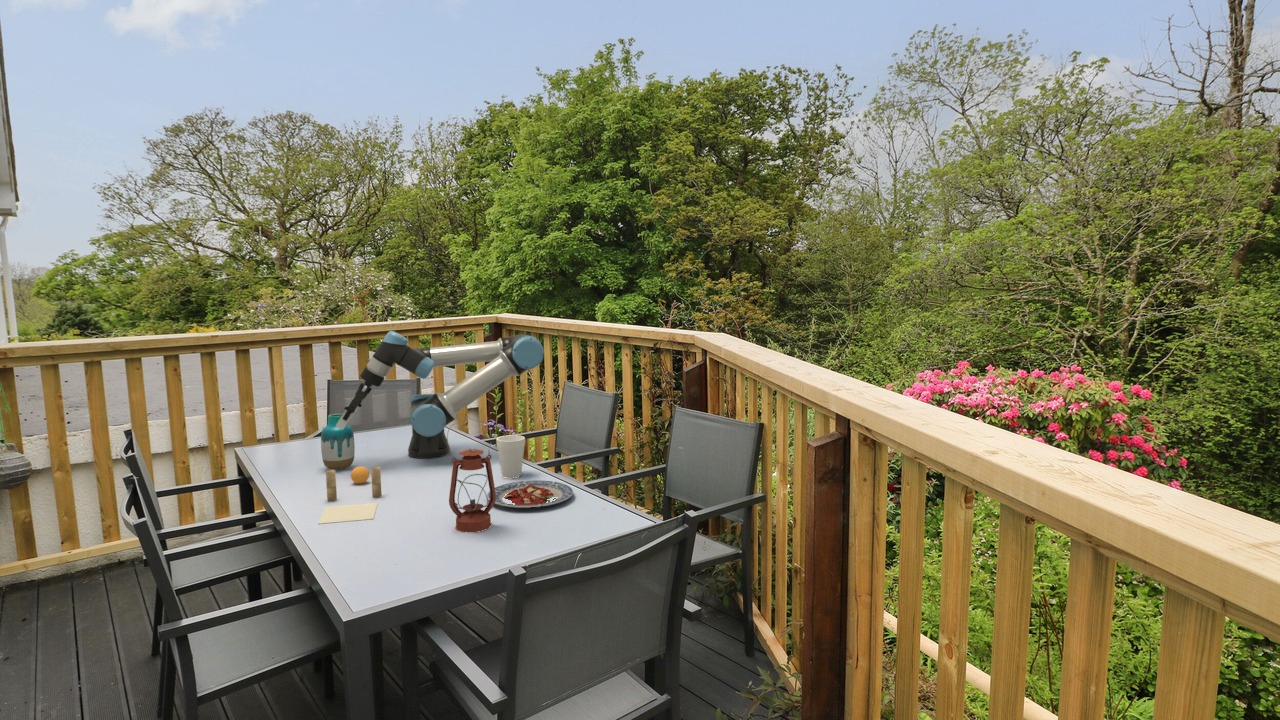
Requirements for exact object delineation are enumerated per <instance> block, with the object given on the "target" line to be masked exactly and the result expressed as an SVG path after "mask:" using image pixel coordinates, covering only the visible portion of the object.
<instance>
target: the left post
mask: <svg viewBox="0 0 1280 720" xmlns="http://www.w3.org/2000/svg"><path fill="white" fill-rule="evenodd" d="M336 473H337V472H336V470H332V469H328V470H326V471H325V478H326V479H325V482H326V496H327V497H326V499H327V500H326V501H327V502H336V501H337V500H338V496H337V495H338V494H337V493H338V492H337V475H336Z"/></svg>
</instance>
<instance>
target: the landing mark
mask: <svg viewBox="0 0 1280 720" xmlns="http://www.w3.org/2000/svg"><path fill="white" fill-rule="evenodd" d="M377 506H378V502H372V503H362V504H349V505H336V506H326V507H325V508H324V510H323V513H322V514H321V516H320V519H319V520H318V523H317V525H323V524H336V523H347V522H355V521H356V522H358V521H368V520H369V521H370V520H374V518H375V514H376V510H377Z"/></svg>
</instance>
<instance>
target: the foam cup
mask: <svg viewBox="0 0 1280 720" xmlns="http://www.w3.org/2000/svg"><path fill="white" fill-rule="evenodd" d="M495 439H496V447H497V452H498V460H499V466H500V472H501V477H502V476H503V477H507V478H513V477H518V476H520V475H521V476H522V470H523V462H524V452H525V446H526V438H525V436H522V435H518V434H515V435H514V434H513V435H512V434H511V435H510V434H509V435H507V434H506V435H502V436H499V437H496V438H495ZM521 476H520V477H521ZM503 477H502V478H503ZM507 478H506V479H507ZM518 478H519V477H518ZM513 479H514V478H513Z"/></svg>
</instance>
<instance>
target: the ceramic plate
mask: <svg viewBox="0 0 1280 720" xmlns="http://www.w3.org/2000/svg"><path fill="white" fill-rule="evenodd" d="M495 492H496V501H495V503H494V505H498V506H502V507H509V508H518V509H532V508H531V507H537V508H542V507H541V506H543V507H545V506H546V507H548V506H552V505H556V504H560V503H562V502H565V501H566V500H568V499H570V498H571V497H572V496H573V494H574V489H573V488H572V487H571V486H569V485H567V484H566V483H562V482H557V481H552V480H543V479H542V480H541V479H540V480H536V479H535V480H531V479H530V480H520V481H514V482H513V481H512V482H508V483H504V484H500V485H498V486H496V487H495ZM507 493H508V494H507ZM505 494H507V495H506V496H505ZM486 495H487V498H488V502H489V501H490V490H489V491H487V493H486ZM504 496H505V497H504ZM503 497H504V498H505V499H508V500H511V501H512V503H515V505H513V504H507V503H505V502H503V500H502V498H503ZM552 497H558V498H557V499H556V498H554V499H556V500H555V501H552V502H550V500H547V499H550V498H552ZM487 498H486V499H487ZM554 499H553V500H554ZM547 501H548V503H546V502H547Z"/></svg>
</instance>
